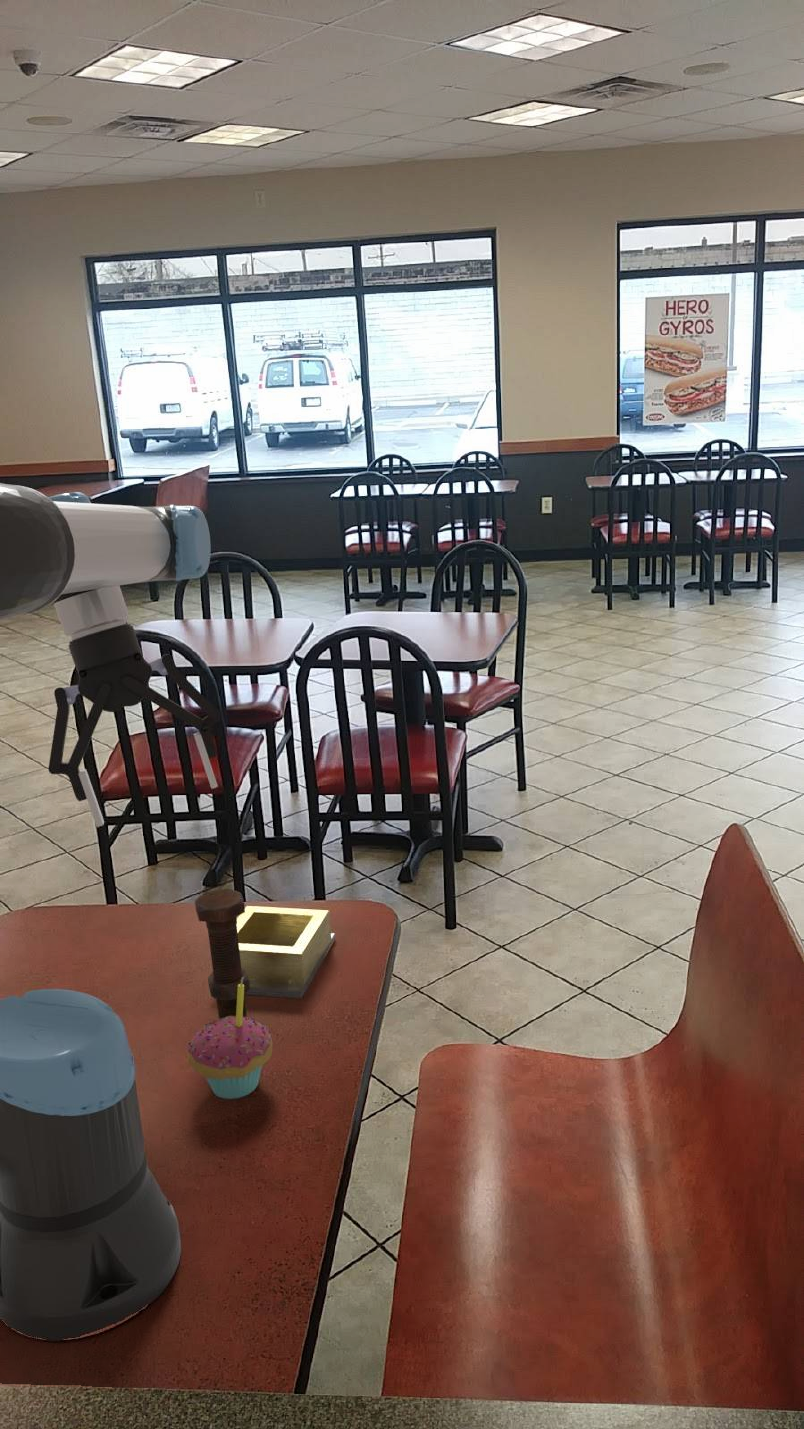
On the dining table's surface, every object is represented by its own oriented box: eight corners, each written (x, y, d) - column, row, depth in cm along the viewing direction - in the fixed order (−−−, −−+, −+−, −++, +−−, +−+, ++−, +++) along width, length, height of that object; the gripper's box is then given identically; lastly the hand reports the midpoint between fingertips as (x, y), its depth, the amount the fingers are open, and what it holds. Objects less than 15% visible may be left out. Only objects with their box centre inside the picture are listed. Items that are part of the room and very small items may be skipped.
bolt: (207, 1009, 128) (192, 892, 123) (250, 1000, 129) (237, 883, 125) (214, 1036, 123) (199, 914, 118) (259, 1026, 124) (245, 905, 120)
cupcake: (261, 1052, 119) (250, 953, 115) (288, 1095, 112) (277, 990, 108) (183, 1077, 116) (169, 975, 112) (205, 1122, 108) (191, 1015, 105)
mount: (300, 998, 129) (297, 960, 127) (213, 991, 132) (208, 954, 130) (335, 940, 142) (332, 905, 140) (254, 935, 145) (251, 900, 143)
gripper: (202, 600, 132) (257, 767, 135) (-7, 662, 127) (54, 835, 130) (206, 597, 125) (263, 774, 127) (-16, 663, 120) (48, 846, 122)
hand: (158, 805), depth 129 cm, fingers open, 13 cm apart
